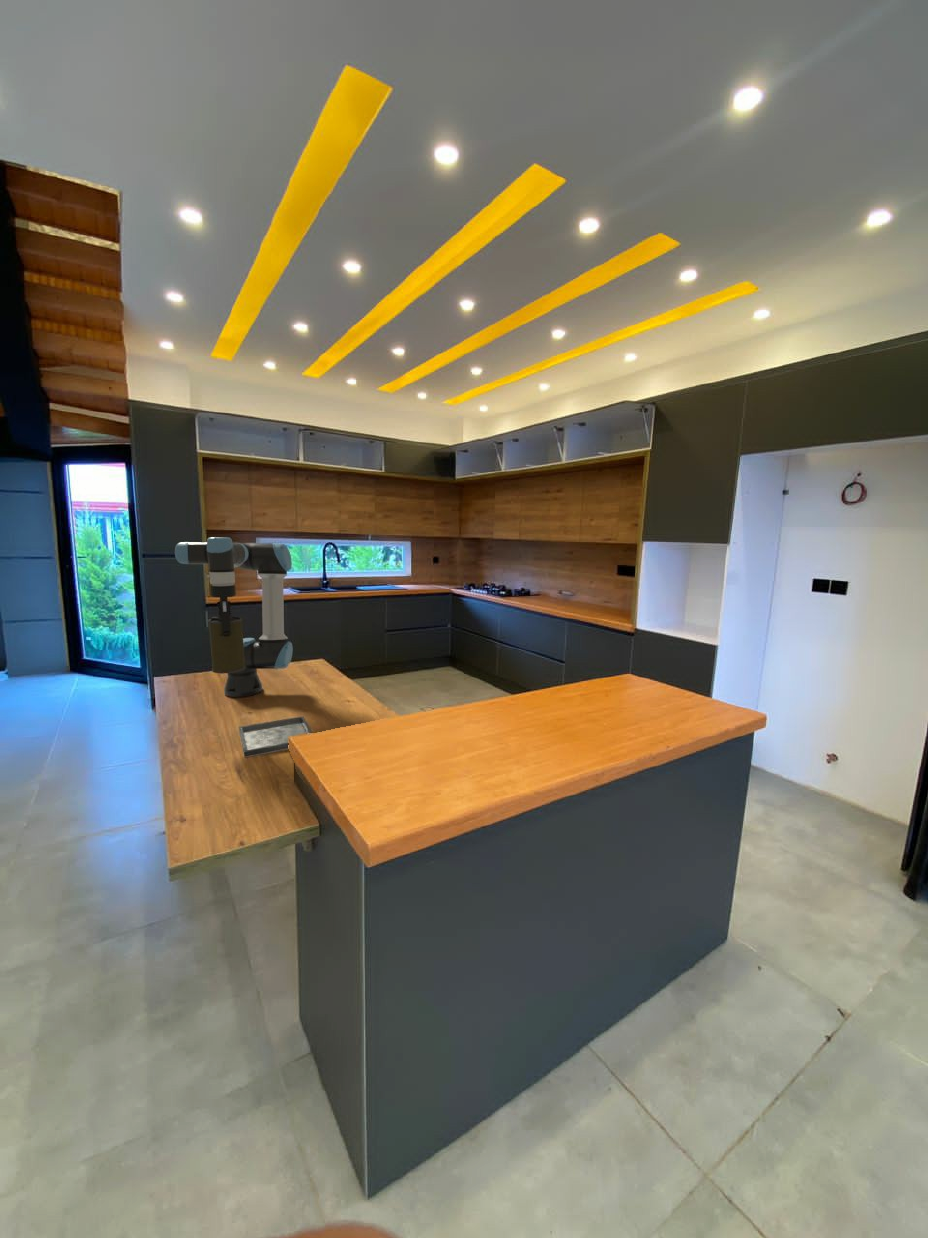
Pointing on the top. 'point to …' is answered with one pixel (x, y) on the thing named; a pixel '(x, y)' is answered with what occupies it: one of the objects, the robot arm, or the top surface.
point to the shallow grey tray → (271, 735)
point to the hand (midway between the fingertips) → (227, 652)
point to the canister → (227, 646)
